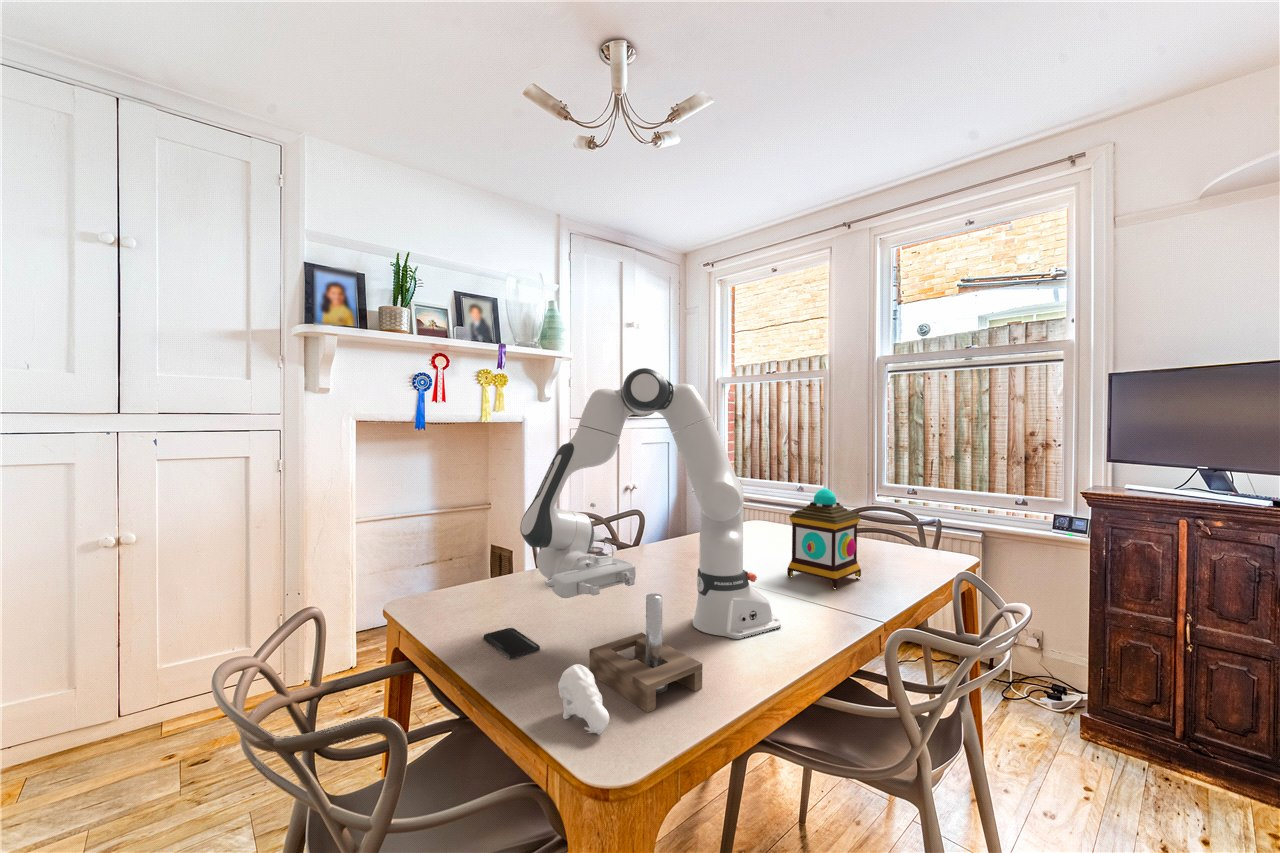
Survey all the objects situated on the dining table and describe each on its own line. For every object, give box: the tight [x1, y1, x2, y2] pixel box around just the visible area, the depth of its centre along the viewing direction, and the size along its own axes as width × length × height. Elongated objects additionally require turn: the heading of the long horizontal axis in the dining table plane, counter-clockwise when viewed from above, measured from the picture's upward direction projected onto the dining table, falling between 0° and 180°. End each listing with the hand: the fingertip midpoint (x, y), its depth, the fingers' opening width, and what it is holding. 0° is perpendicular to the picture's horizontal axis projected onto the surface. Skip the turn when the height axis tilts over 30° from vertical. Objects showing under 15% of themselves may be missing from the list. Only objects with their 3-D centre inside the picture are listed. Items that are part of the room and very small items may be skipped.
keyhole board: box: [588, 632, 703, 713], centre depth 109 cm, size 19×14×5 cm
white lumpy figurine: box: [557, 663, 610, 736], centre depth 94 cm, size 6×8×12 cm
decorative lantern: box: [786, 487, 862, 589], centre depth 177 cm, size 20×20×30 cm
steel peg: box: [645, 593, 669, 695], centre depth 106 cm, size 6×6×18 cm
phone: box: [483, 627, 541, 660], centre depth 125 cm, size 8×1×15 cm
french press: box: [588, 502, 614, 557], centre depth 176 cm, size 10×12×25 cm
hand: (615, 586), depth 116 cm, fingers open, 8 cm apart
